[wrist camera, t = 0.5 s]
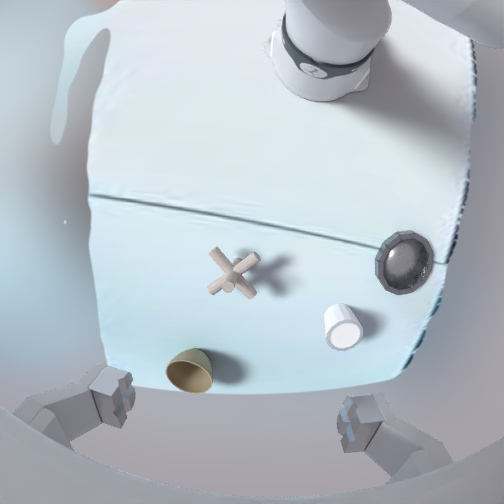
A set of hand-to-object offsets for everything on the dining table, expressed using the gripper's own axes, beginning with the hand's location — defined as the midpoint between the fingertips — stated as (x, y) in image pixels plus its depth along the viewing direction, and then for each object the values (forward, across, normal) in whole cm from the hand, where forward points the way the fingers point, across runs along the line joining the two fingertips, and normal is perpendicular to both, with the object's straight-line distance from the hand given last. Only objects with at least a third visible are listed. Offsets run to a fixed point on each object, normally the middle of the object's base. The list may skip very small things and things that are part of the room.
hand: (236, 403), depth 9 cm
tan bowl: (+43, +10, +29) cm, 53 cm away
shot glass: (+40, -18, +14) cm, 46 cm away
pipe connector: (+40, +3, +6) cm, 40 cm away
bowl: (+38, -28, +2) cm, 47 cm away
